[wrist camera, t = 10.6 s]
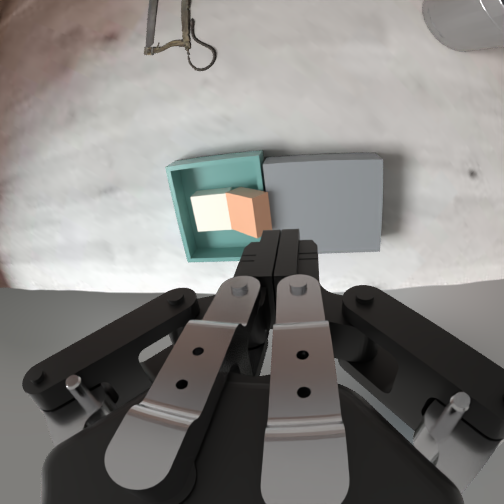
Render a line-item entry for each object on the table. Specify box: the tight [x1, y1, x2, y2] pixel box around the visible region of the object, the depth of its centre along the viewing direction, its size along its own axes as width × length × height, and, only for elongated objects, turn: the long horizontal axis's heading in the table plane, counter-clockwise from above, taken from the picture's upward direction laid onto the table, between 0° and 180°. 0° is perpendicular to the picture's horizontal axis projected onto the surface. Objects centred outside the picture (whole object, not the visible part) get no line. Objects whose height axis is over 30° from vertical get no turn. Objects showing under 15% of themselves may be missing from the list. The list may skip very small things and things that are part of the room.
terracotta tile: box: [225, 187, 272, 239], centre depth 37 cm, size 5×5×2 cm
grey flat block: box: [263, 153, 383, 254], centre depth 37 cm, size 14×12×4 cm
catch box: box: [165, 150, 266, 262], centre depth 40 cm, size 12×14×4 cm
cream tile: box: [190, 187, 233, 232], centre depth 40 cm, size 5×5×2 cm
